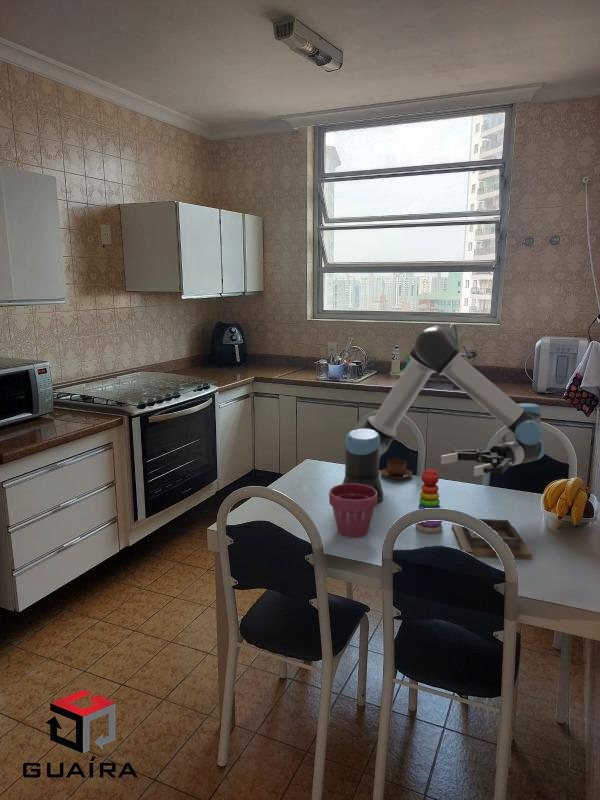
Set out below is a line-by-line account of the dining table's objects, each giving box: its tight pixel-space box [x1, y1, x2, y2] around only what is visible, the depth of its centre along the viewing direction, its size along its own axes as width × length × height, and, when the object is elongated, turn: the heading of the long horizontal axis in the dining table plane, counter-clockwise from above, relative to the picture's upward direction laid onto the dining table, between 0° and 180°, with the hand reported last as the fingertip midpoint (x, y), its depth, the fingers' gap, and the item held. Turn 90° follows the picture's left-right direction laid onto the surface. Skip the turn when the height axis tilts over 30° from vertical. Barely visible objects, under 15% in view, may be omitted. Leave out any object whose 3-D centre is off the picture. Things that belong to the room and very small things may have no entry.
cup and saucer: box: [380, 458, 413, 480], centre depth 215 cm, size 12×12×6 cm
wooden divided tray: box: [451, 518, 533, 560], centre depth 157 cm, size 18×18×4 cm
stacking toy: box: [415, 468, 443, 535], centre depth 165 cm, size 8×8×19 cm
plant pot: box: [328, 483, 378, 539], centre depth 164 cm, size 14×14×13 cm
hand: (457, 465), depth 168 cm, fingers open, 13 cm apart
